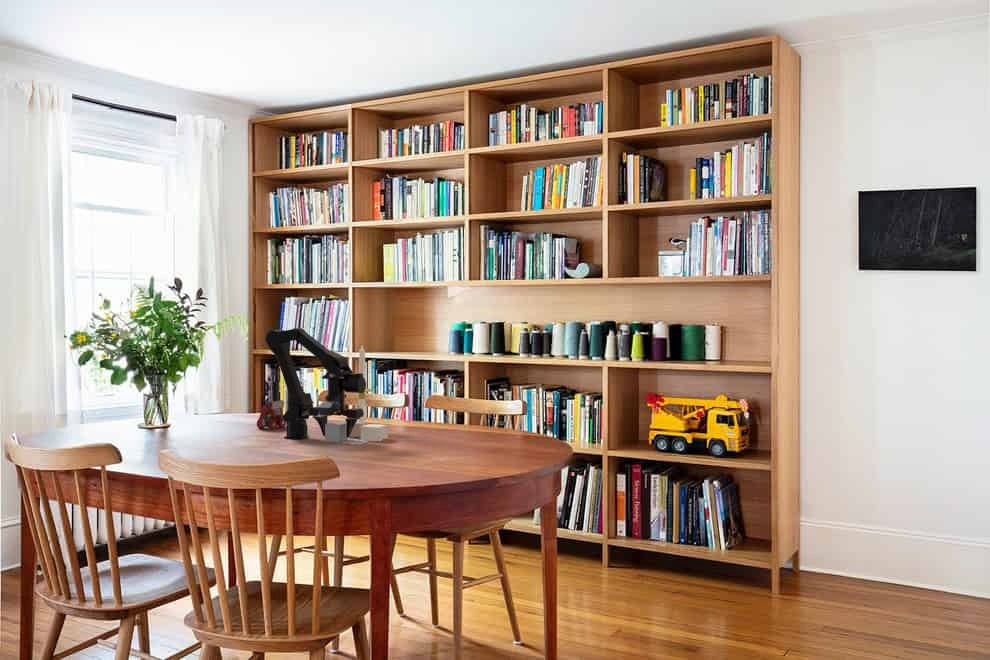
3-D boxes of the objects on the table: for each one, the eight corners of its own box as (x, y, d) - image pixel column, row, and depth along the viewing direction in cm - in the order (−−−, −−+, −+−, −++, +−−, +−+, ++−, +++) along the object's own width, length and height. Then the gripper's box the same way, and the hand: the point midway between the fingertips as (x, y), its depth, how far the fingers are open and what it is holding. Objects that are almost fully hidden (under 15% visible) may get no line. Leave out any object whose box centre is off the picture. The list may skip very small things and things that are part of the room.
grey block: (325, 441, 302) (325, 424, 302) (333, 439, 307) (333, 422, 307) (339, 442, 300) (339, 425, 300) (347, 440, 306) (347, 422, 305)
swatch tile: (341, 443, 298) (341, 442, 298) (351, 440, 305) (351, 439, 305) (359, 444, 296) (359, 443, 296) (368, 441, 302) (368, 440, 302)
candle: (363, 433, 321) (363, 344, 320) (342, 431, 326) (342, 343, 325) (381, 430, 329) (381, 343, 328) (360, 428, 334) (360, 342, 333)
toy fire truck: (252, 429, 329) (252, 402, 329) (275, 425, 340) (275, 398, 340) (267, 431, 326) (267, 403, 325) (289, 426, 337) (289, 399, 337)
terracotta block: (348, 437, 311) (348, 423, 311) (351, 435, 316) (351, 421, 316) (362, 437, 311) (362, 423, 311) (365, 435, 316) (365, 421, 316)
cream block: (360, 440, 304) (360, 426, 304) (369, 438, 311) (369, 424, 311) (379, 442, 302) (379, 427, 302) (387, 439, 309) (387, 424, 309)
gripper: (300, 393, 299) (300, 438, 300) (348, 395, 293) (348, 442, 293) (317, 390, 310) (317, 434, 310) (364, 392, 303) (364, 437, 304)
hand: (336, 437), depth 304 cm, fingers open, 9 cm apart
